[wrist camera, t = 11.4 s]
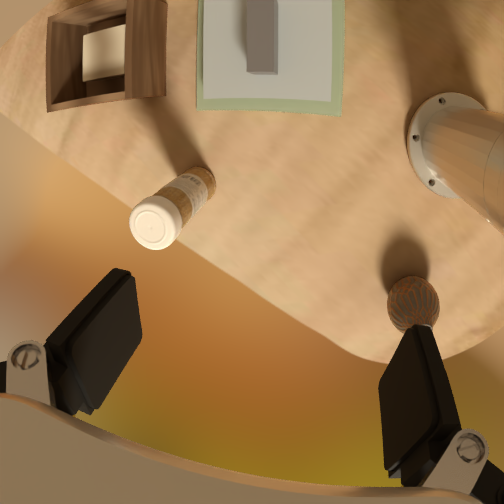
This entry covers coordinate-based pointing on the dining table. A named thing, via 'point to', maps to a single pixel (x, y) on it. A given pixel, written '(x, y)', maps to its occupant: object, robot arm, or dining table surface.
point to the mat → (283, 104)
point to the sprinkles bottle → (171, 208)
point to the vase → (413, 303)
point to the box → (106, 53)
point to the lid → (267, 49)
